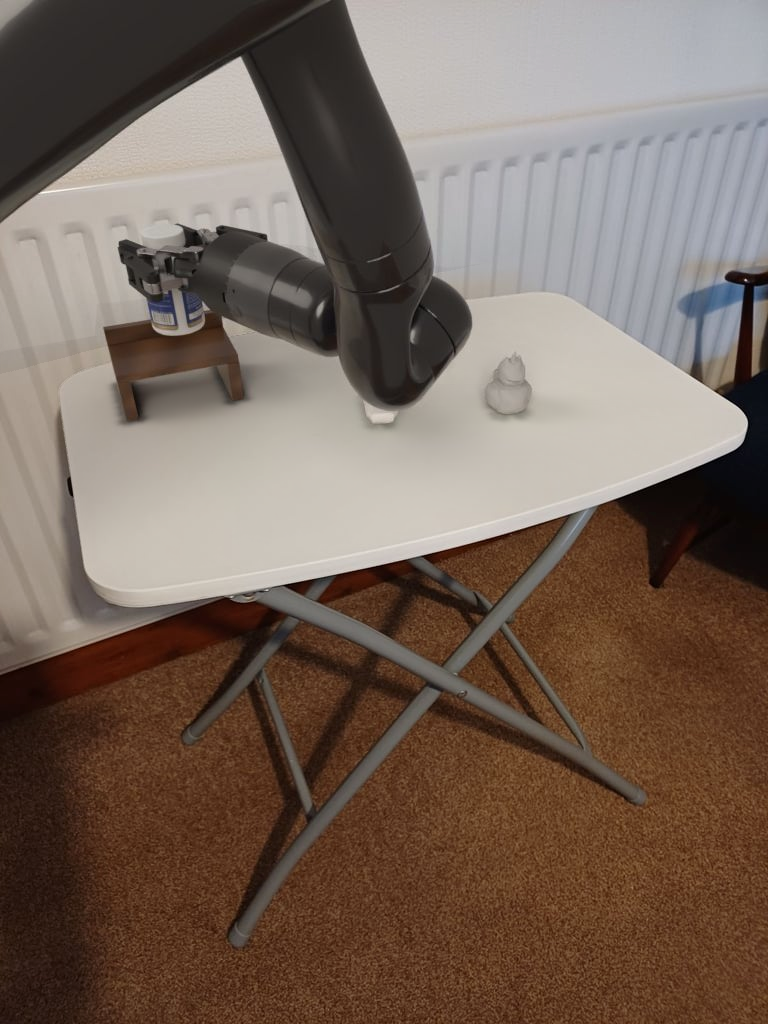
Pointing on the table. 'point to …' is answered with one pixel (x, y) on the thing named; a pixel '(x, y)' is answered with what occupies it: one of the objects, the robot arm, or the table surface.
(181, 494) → the table surface
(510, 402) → the rubber duck
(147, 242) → the pill bottle
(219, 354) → the shelf
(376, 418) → the white flared handle
